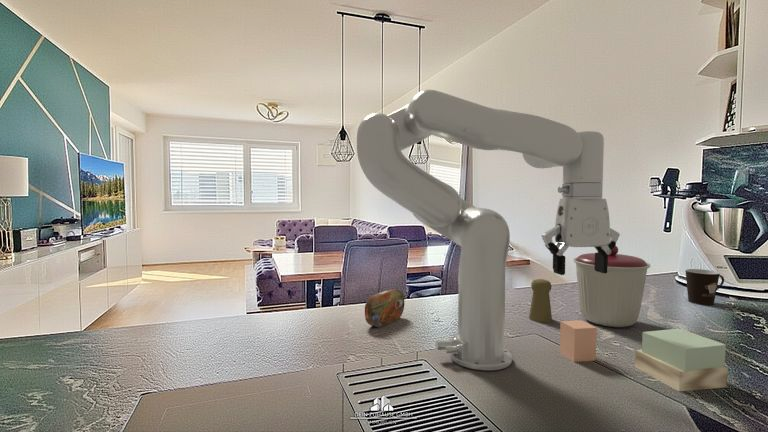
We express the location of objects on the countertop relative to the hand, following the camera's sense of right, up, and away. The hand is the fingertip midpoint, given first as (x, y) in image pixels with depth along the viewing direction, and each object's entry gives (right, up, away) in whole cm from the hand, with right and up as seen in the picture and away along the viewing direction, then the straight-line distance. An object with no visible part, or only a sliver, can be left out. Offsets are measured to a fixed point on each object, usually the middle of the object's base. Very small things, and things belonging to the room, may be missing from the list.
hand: (580, 273), depth 86 cm
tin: (-41, -17, +24) cm, 51 cm away
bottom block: (+15, -19, -9) cm, 25 cm away
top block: (+15, -15, -9) cm, 23 cm away
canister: (+19, -17, +24) cm, 35 cm away
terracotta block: (0, -18, +1) cm, 18 cm away
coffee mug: (+61, -16, +43) cm, 76 cm away
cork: (+2, -17, +27) cm, 31 cm away
